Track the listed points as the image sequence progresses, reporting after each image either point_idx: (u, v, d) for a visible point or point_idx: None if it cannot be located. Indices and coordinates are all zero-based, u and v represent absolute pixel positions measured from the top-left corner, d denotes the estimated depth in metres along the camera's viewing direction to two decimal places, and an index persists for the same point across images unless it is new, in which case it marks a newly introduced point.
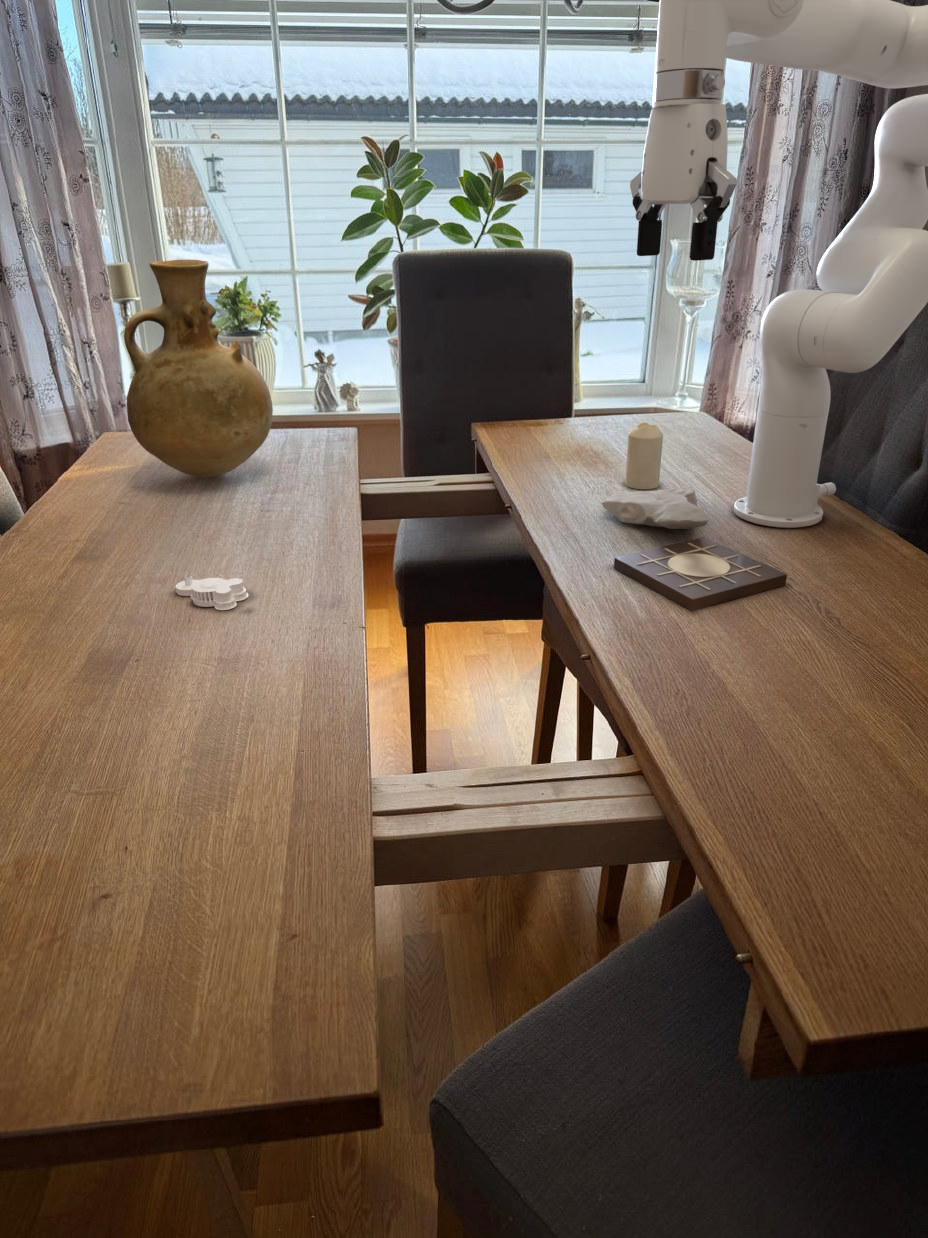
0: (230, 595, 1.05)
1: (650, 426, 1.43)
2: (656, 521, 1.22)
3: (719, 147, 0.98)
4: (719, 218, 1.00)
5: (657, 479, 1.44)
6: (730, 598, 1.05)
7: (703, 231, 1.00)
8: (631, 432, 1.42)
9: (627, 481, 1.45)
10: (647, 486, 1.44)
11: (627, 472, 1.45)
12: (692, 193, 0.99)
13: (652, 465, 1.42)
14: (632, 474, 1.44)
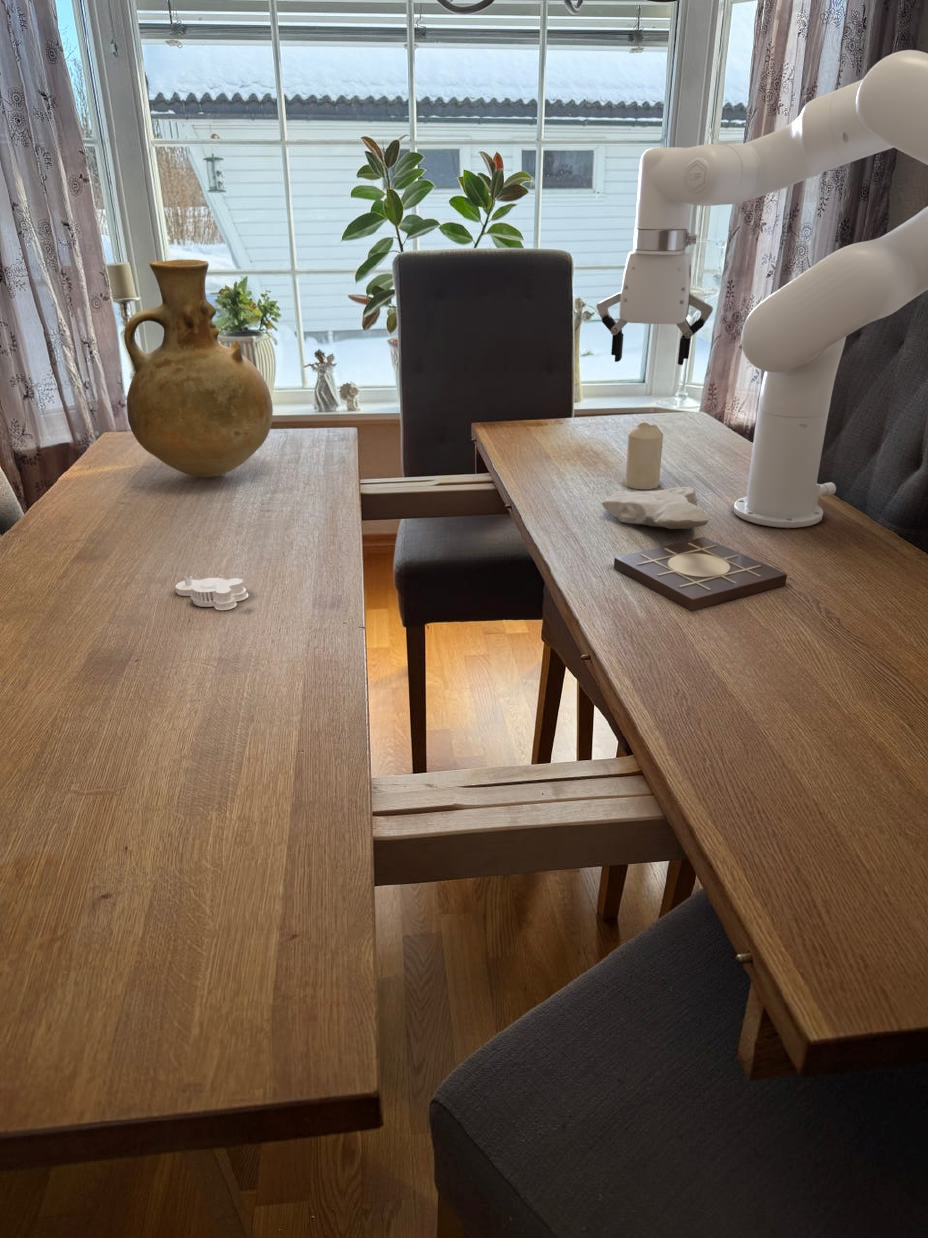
0: (230, 595, 1.05)
1: (650, 426, 1.43)
2: (656, 521, 1.22)
3: (690, 283, 1.32)
4: None
5: (657, 479, 1.44)
6: (730, 598, 1.05)
7: (687, 344, 1.34)
8: (631, 432, 1.42)
9: (627, 481, 1.45)
10: (647, 486, 1.44)
11: (627, 472, 1.45)
12: (682, 317, 1.31)
13: (652, 465, 1.42)
14: (632, 474, 1.44)
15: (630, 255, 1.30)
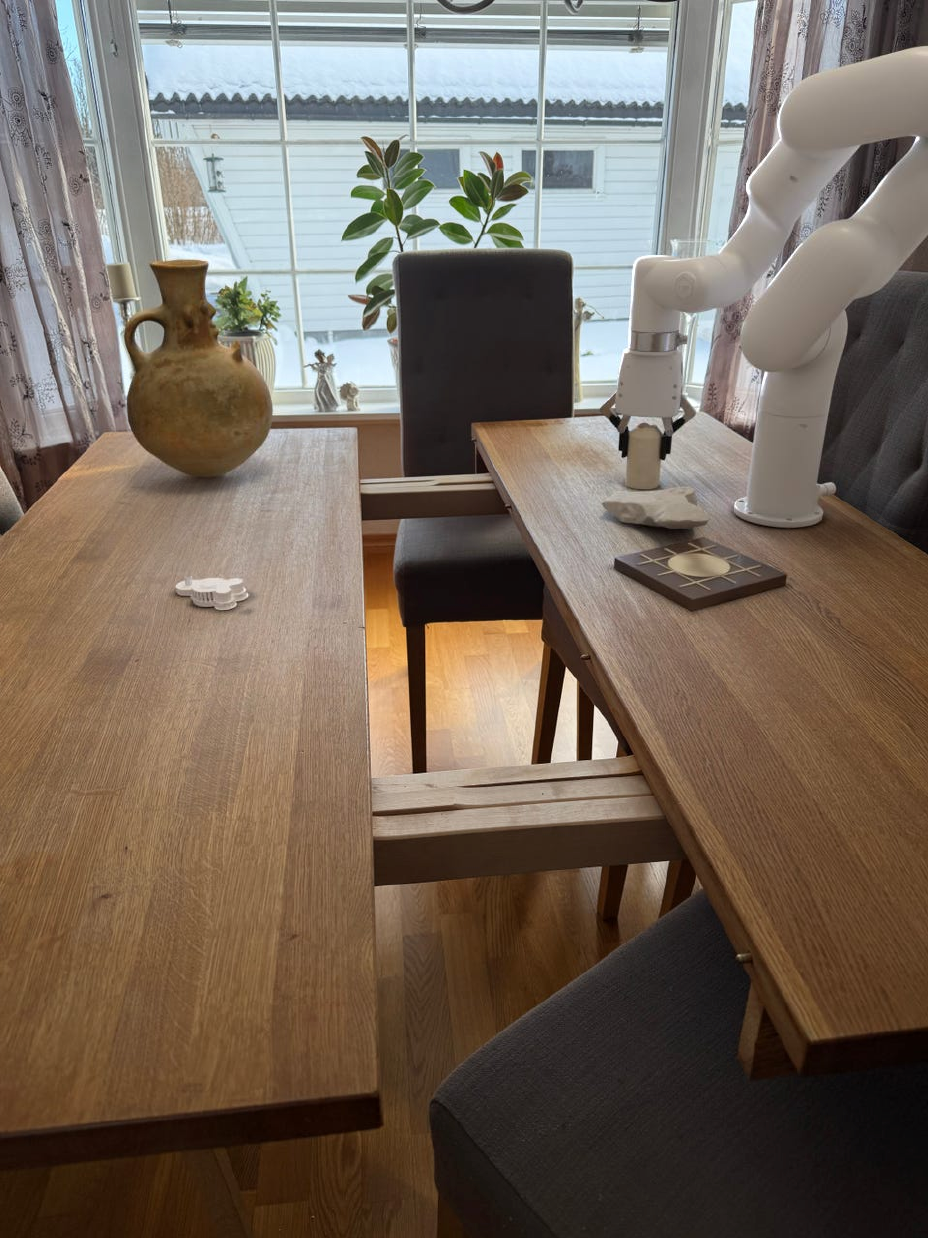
0: (230, 595, 1.05)
1: (650, 426, 1.43)
2: (656, 521, 1.22)
3: (682, 379, 1.38)
4: None
5: (657, 479, 1.44)
6: (730, 598, 1.05)
7: (669, 441, 1.41)
8: (631, 432, 1.42)
9: (627, 481, 1.45)
10: (647, 486, 1.44)
11: (627, 472, 1.45)
12: (675, 412, 1.38)
13: (652, 465, 1.42)
14: (632, 474, 1.44)
15: (624, 354, 1.37)
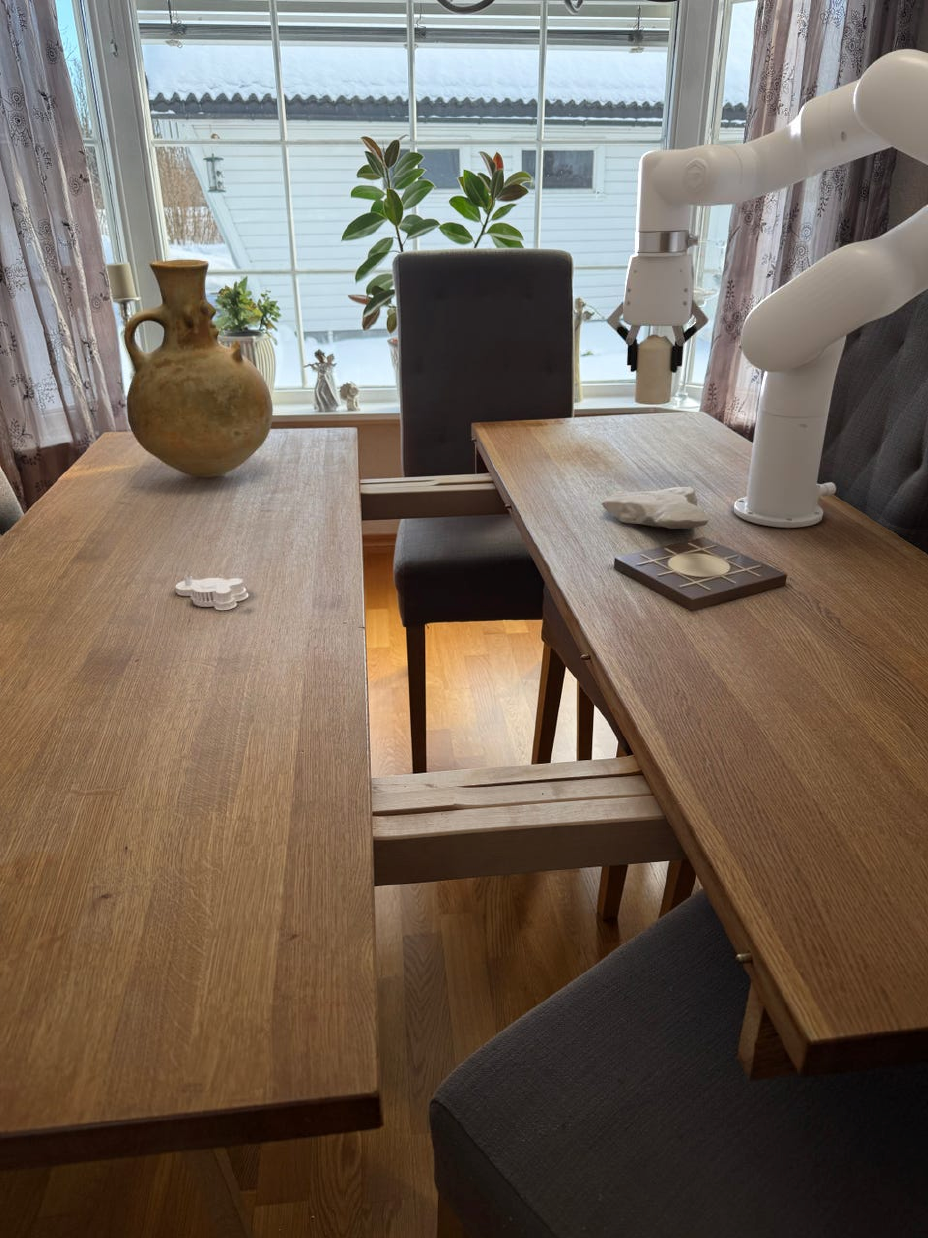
0: (230, 595, 1.05)
1: (660, 338, 1.36)
2: (656, 521, 1.22)
3: (693, 284, 1.32)
4: None
5: (668, 394, 1.37)
6: (730, 598, 1.05)
7: (680, 351, 1.35)
8: (640, 344, 1.36)
9: (637, 397, 1.39)
10: (658, 401, 1.37)
11: (636, 387, 1.38)
12: (686, 318, 1.31)
13: (663, 378, 1.36)
14: (641, 388, 1.37)
15: (632, 258, 1.30)
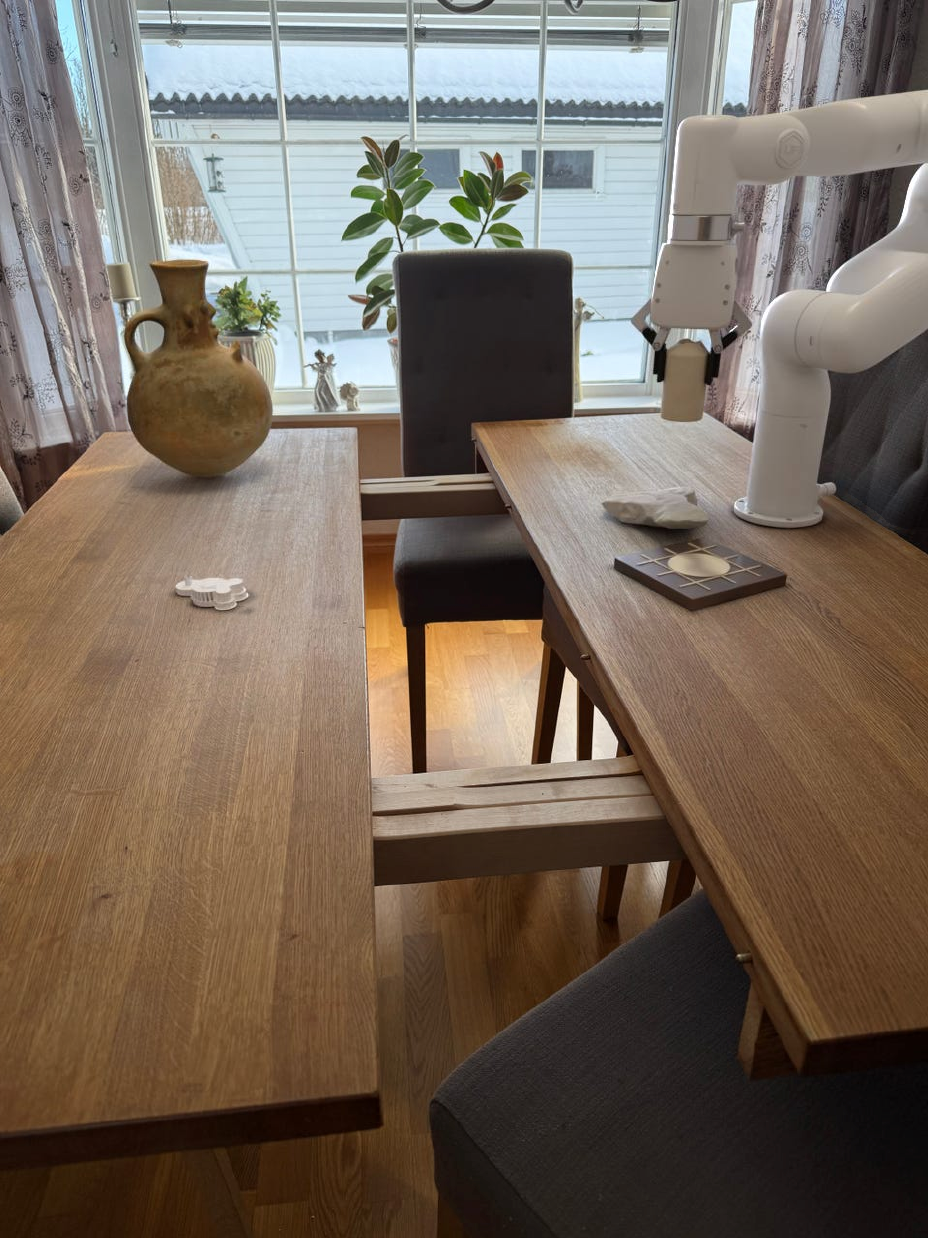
0: (230, 595, 1.05)
1: (693, 343, 1.15)
2: (656, 521, 1.22)
3: (736, 280, 1.10)
4: None
5: (701, 410, 1.16)
6: (730, 598, 1.05)
7: (717, 360, 1.13)
8: (669, 349, 1.14)
9: (663, 412, 1.17)
10: (688, 418, 1.15)
11: (663, 401, 1.16)
12: (726, 321, 1.09)
13: (695, 392, 1.14)
14: (669, 402, 1.15)
15: (664, 247, 1.08)
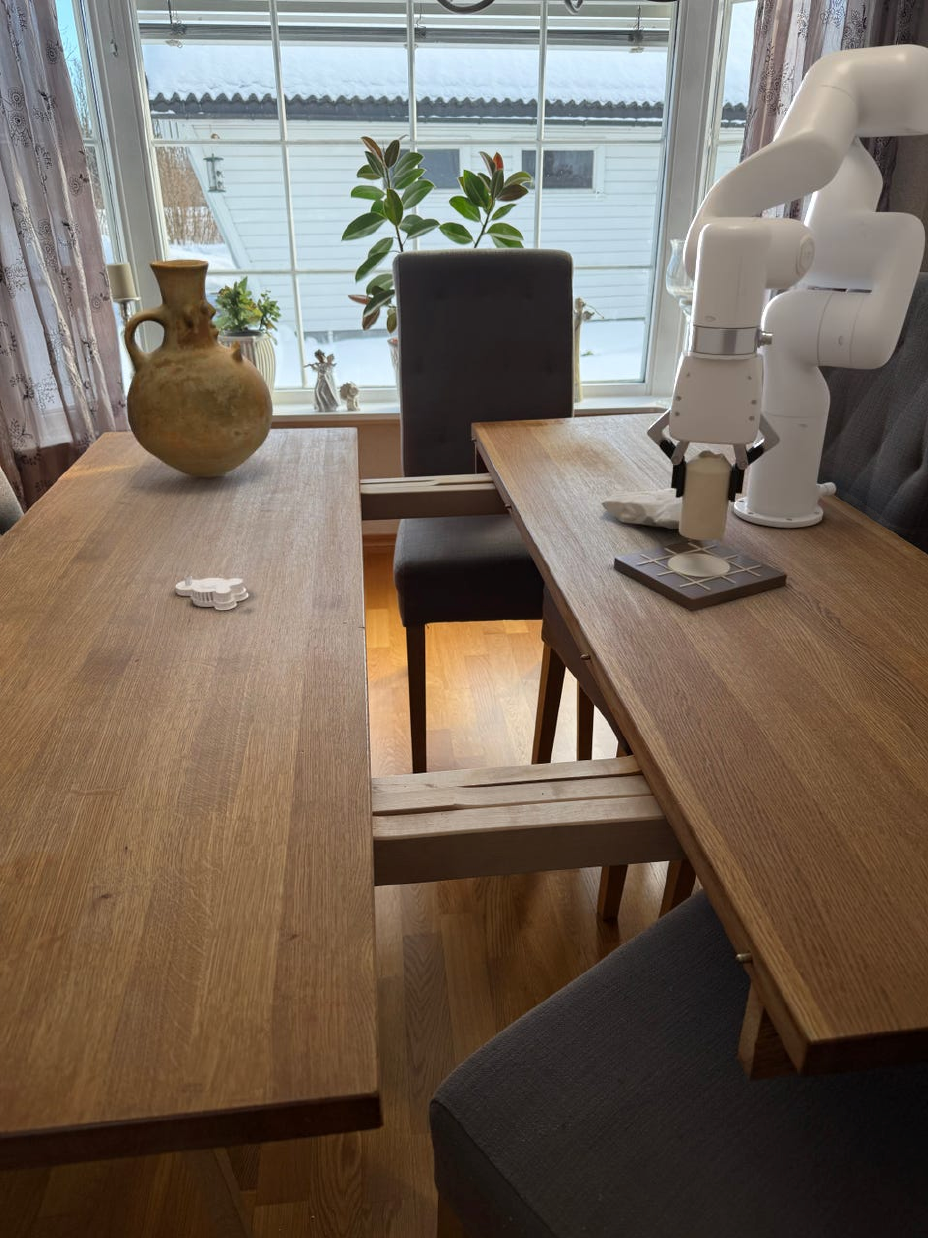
0: (230, 595, 1.05)
1: (715, 455, 1.06)
2: (656, 521, 1.22)
3: None
4: None
5: (723, 527, 1.07)
6: (730, 598, 1.05)
7: (741, 476, 1.04)
8: (689, 463, 1.05)
9: (682, 529, 1.08)
10: (710, 536, 1.06)
11: (682, 517, 1.07)
12: (752, 437, 1.01)
13: (718, 509, 1.05)
14: (689, 519, 1.06)
15: (684, 358, 0.99)
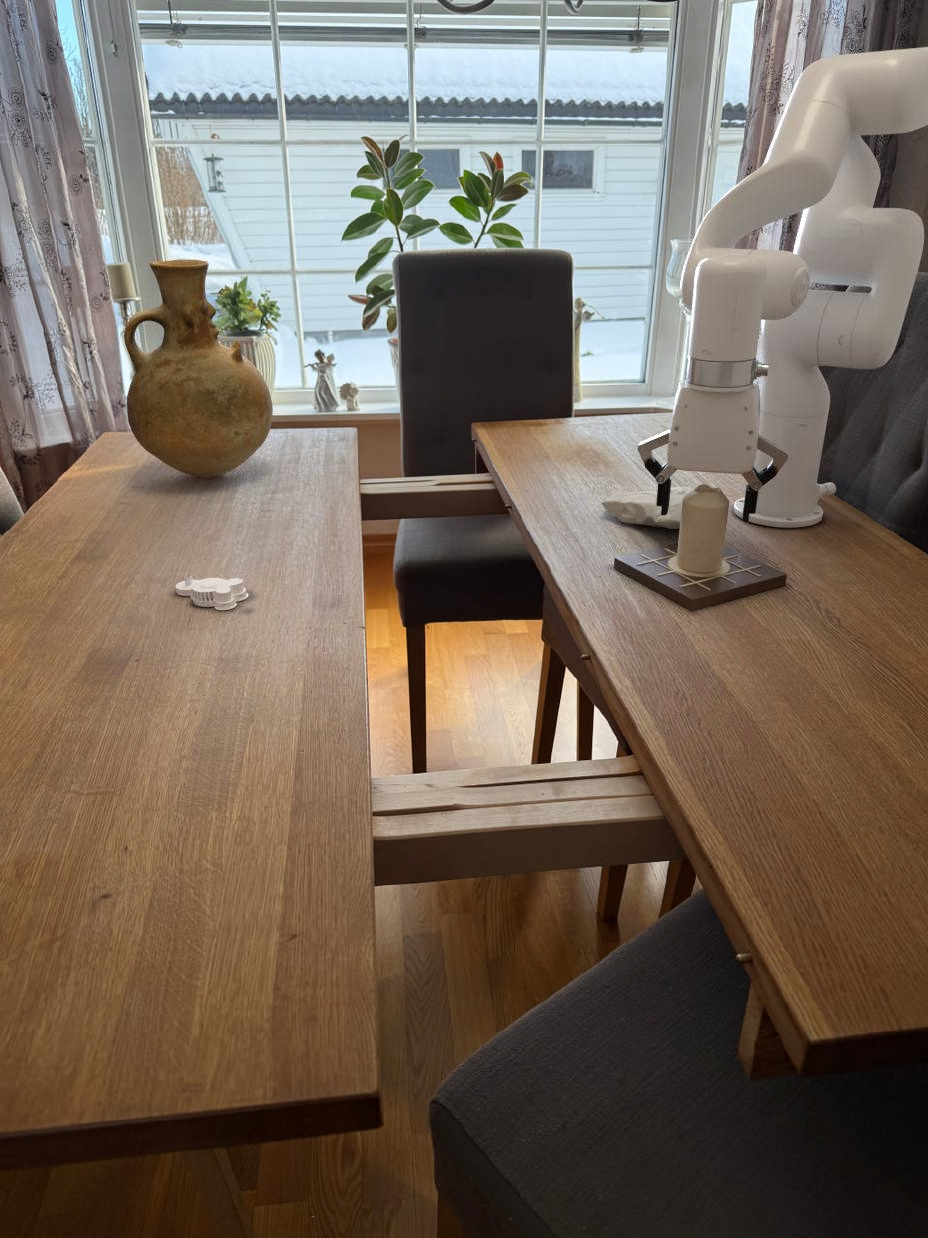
0: (230, 595, 1.05)
1: (712, 489, 1.08)
2: (656, 521, 1.22)
3: None
4: None
5: (720, 559, 1.09)
6: (730, 598, 1.05)
7: (755, 496, 1.05)
8: (687, 498, 1.07)
9: (680, 561, 1.10)
10: (707, 569, 1.08)
11: (680, 549, 1.09)
12: (749, 467, 1.02)
13: (715, 542, 1.07)
14: (687, 552, 1.08)
15: (682, 389, 1.01)
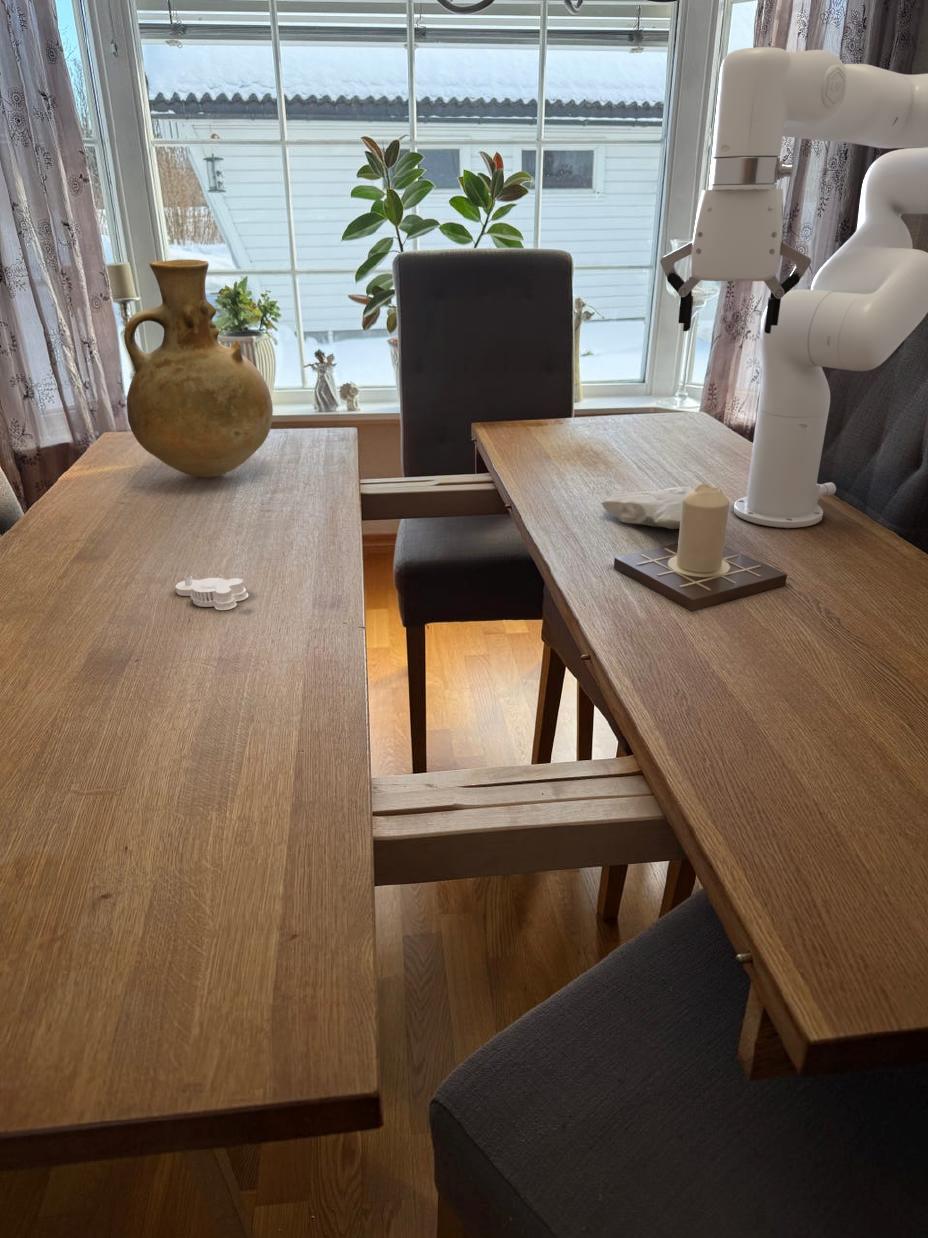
0: (230, 595, 1.05)
1: (712, 489, 1.08)
2: (656, 521, 1.22)
3: None
4: None
5: (720, 559, 1.09)
6: (730, 598, 1.05)
7: (777, 306, 1.06)
8: (687, 498, 1.07)
9: (680, 561, 1.10)
10: (707, 569, 1.08)
11: (680, 549, 1.09)
12: (772, 272, 1.03)
13: (715, 542, 1.07)
14: (687, 552, 1.08)
15: (706, 193, 1.02)
